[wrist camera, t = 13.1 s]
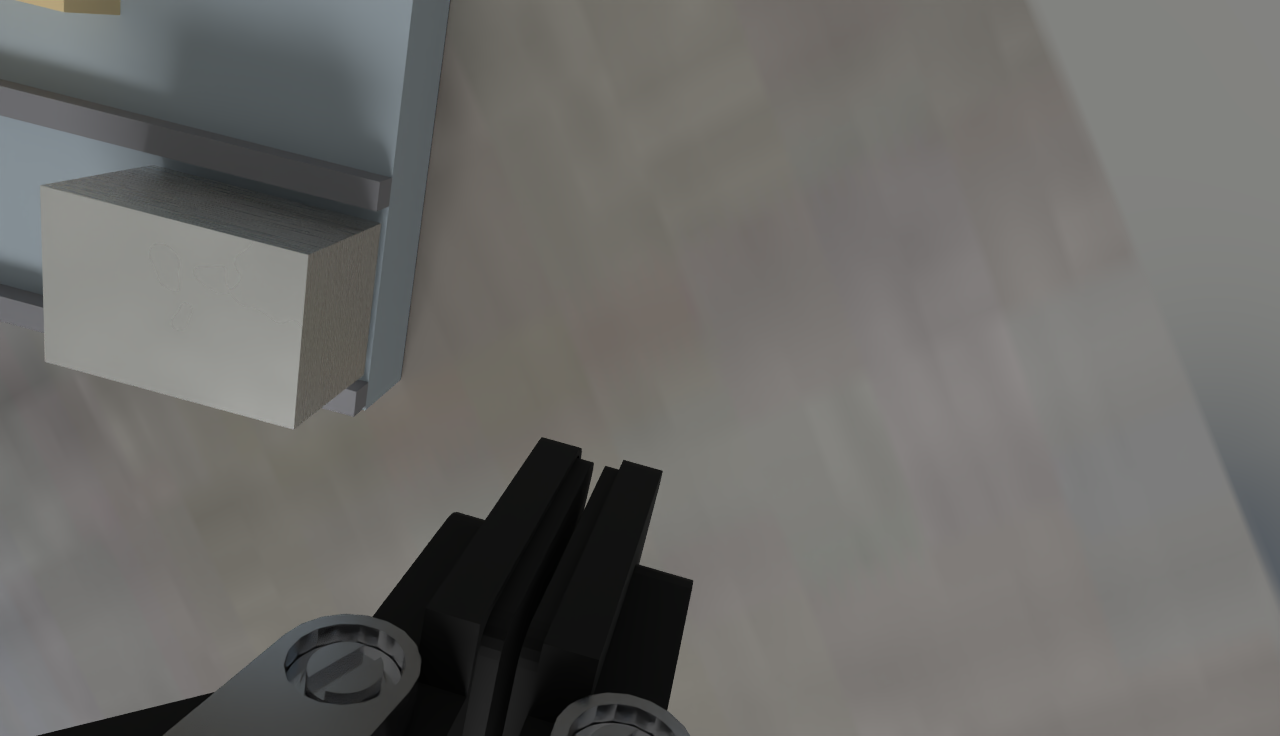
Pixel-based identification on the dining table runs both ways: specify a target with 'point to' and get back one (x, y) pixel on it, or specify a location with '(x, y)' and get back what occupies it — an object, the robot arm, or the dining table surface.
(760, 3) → the dining table surface
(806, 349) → the dining table surface
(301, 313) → the cover
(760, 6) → the dining table surface
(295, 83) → the base
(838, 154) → the dining table surface
